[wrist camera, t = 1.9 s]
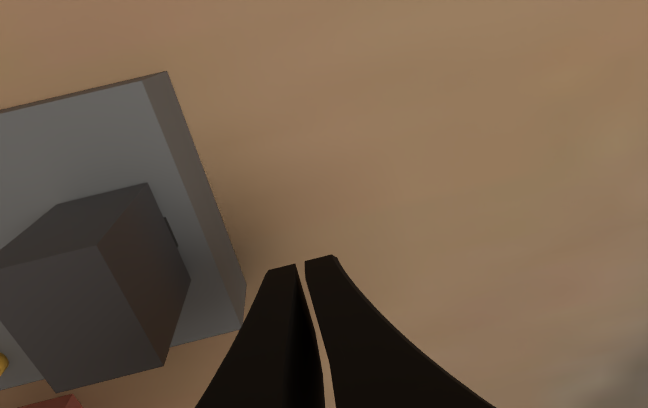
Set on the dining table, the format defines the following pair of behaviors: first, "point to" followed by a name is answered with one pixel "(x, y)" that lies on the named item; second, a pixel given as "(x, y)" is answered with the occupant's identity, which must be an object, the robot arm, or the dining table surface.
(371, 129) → the dining table surface
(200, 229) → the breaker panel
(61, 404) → the block
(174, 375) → the dining table surface
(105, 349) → the switch
